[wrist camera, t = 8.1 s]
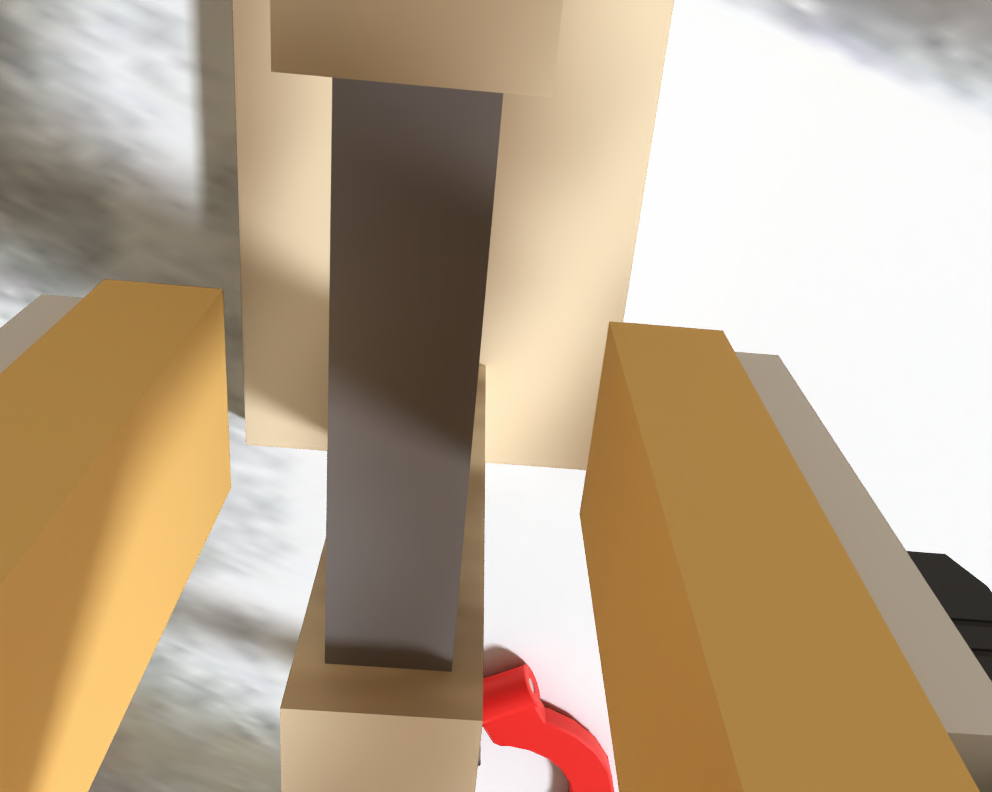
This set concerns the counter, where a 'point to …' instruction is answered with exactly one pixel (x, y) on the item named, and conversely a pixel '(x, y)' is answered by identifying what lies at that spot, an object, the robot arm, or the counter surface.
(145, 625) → the yellow u-shaped bracket
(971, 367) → the counter surface
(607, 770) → the tow hook
